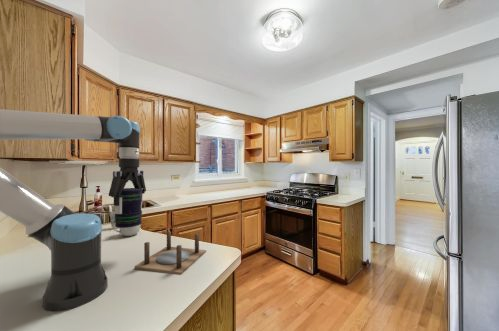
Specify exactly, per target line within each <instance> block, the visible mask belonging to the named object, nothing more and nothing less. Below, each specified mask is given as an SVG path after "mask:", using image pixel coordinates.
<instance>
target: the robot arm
mask: <svg viewBox="0 0 499 331" xmlns="http://www.w3.org/2000/svg"><path fill="white" fill-rule="evenodd" d="M140 133H141V131H140V124H139V123H138V122H136V121H132V120H129V119H128V118H126V117H124V116H122V115H113V116H99V115H98V116H97V115H86V114H85V115H84V114H71V113H70V114H69V113H58V112H57V113H56V112H44V111H32V110H19V109H18V110H16V109H3V108H2V109H1V108H0V141H5V140H6V141H15V140H16V141H21V140H22V141H23V140H24V141H26V140H27V141H28V140H29V141H31V140H32V141H33V140H35V141H36V140H43V141H44V140H45V141H46V140H51V141H52V140H85V141H89V142H94V143H96V142H98V143H99V142H100V143H111V144H112V143H114V144H118V157H119V159H118V168H120V169H119V170H115V171H113V172H112V180H111V182H110V188H109V192H108V197H110V198H113V206H114V212H115V214H122V197H120V196H121V194H122V190H123V189H124V188H126V184H127V183H128V182H129V181H130V182H131V183H132V185H133V188H138V189H140V188H142V195H144V194H145V193H146V191H147V188H146V183H145V178H144V171H143V170H138V168H140V159H139V158H140ZM141 198H142V199H143V196H142V197H141ZM142 203H143V202H141V209H142V208H143V207H142V206H143V204H142ZM0 212H1V213H3V214H4V215H6V216H7V217H8V218H9V217H10V218H11V219H12V220H14V221H16V222H18V223H19V224H21V225H23V226H24V227H25V234H26V235H28V236H29V237H31V238H33V239H34V240H36V241H38V242H40V243H41V244H42V245H45V246H46V247H48V249H49V250H50V253H51V255H50V258H51V259H50V260H51V263H50V268H51V269H50V270H51V271H50V277H49V280H48V283H47V286H46V288H45V291H44V293H43V295H42V300H41V301H42V303H41V304H42V305H41V306H42V308H43V309H44V310H45V309H47V310H46V311H49V310H54V311H53V312H56V311H55V310H60V311H65V310H70V309H73V308H74V309H75V308H77V307H80V306H83V305H85V304H87V303H89V302H91V301H93V300H95V299H97V298H99V297H100V296H101V295H103V294H104V292H106V290H107V289H108V282H109V281H108V280H109V279H108V277H107V274H106V271H105V269H104V267H103V265H102V229H103V227H102V226H103V225H102V219H101V218H100V216H98V215H96V214H94V213H82V212H81V213H76V212H74V211H73V210H71V209H70V208H68V207H67V206H66V205H64V204H63V203H60V204H54V203H52V202H50V201H49V200H48V199H47V198H45V197H44V196H42V195H40V194H39V193H38V192H37V191H35V190H34V189H32V188H31V187H29V186H28V185H27V184H25V183H23V182H22V181H20V180H19V179H18V178H16V177H15V176H13V175H12V174H11V173H9V172H8V171H7V170H5V169H3V168H2V167H1V166H0Z"/></svg>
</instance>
